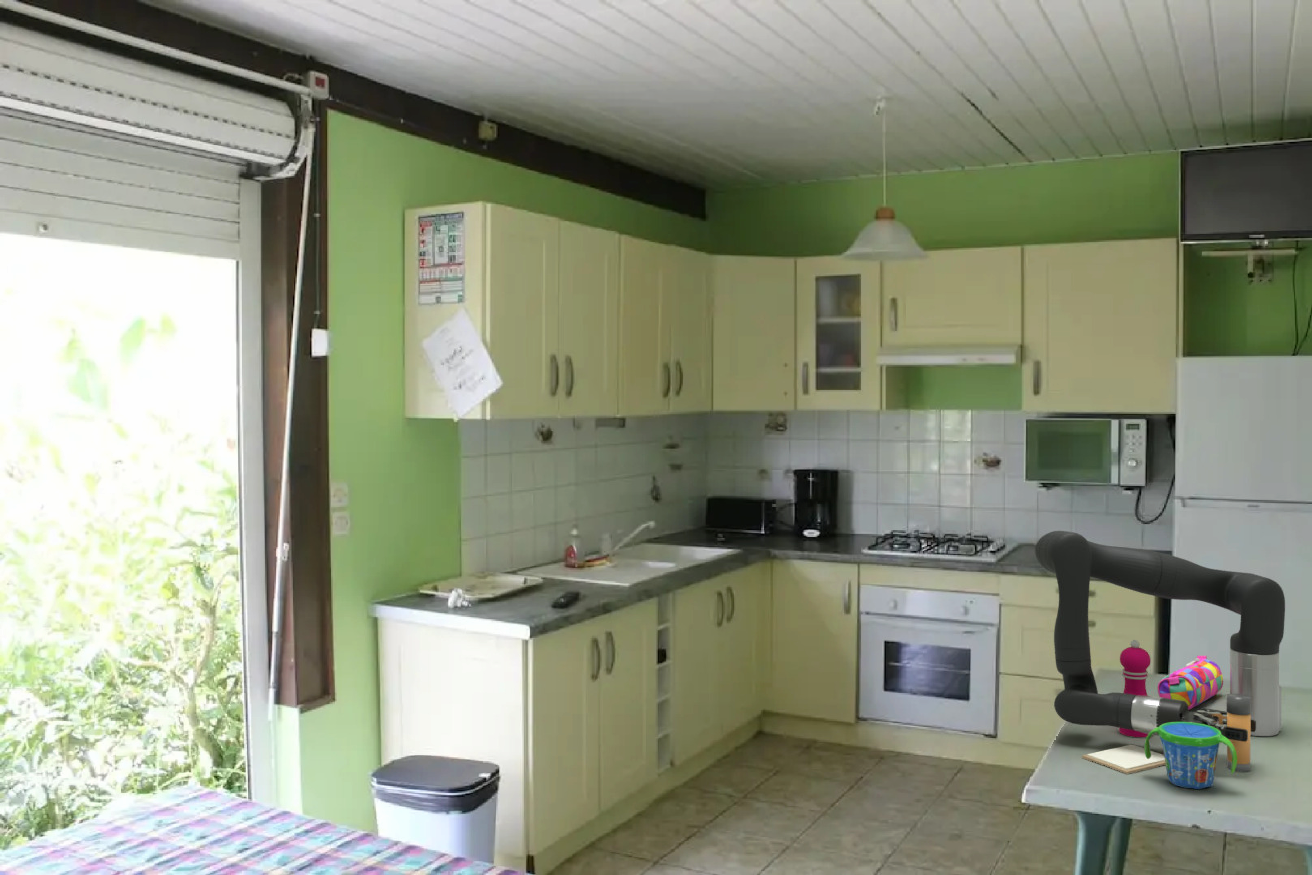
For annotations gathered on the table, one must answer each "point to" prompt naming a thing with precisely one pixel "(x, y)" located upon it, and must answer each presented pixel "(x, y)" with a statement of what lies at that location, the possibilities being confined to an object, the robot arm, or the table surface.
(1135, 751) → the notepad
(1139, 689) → the pepper mill
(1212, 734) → the snack cup
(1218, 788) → the table surface
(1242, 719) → the orange grey cylinder
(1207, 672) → the pencil case
